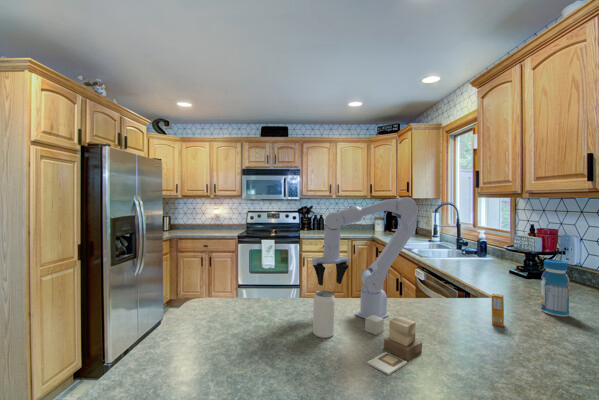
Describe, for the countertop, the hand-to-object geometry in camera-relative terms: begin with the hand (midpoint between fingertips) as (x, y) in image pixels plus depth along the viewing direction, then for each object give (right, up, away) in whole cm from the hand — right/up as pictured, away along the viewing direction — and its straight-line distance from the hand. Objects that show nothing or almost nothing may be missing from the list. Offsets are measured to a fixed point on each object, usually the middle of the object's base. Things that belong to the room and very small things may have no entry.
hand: (329, 283), depth 102 cm
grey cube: (+12, -11, -13) cm, 21 cm away
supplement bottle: (+87, -14, +8) cm, 89 cm away
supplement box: (+56, -12, -5) cm, 58 cm away
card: (+11, -10, -32) cm, 35 cm away
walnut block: (+17, -11, -25) cm, 32 cm away
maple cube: (+17, -8, -24) cm, 31 cm away
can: (-4, -10, -16) cm, 20 cm away
